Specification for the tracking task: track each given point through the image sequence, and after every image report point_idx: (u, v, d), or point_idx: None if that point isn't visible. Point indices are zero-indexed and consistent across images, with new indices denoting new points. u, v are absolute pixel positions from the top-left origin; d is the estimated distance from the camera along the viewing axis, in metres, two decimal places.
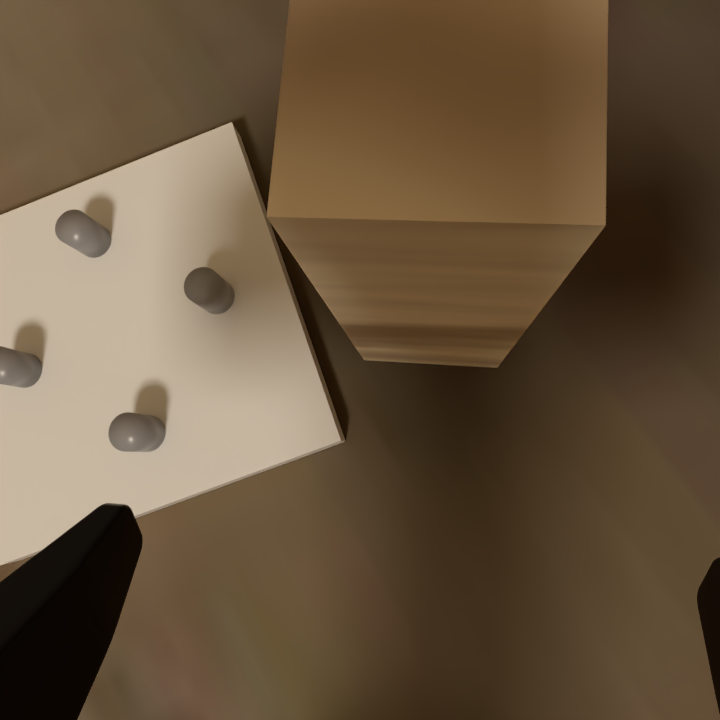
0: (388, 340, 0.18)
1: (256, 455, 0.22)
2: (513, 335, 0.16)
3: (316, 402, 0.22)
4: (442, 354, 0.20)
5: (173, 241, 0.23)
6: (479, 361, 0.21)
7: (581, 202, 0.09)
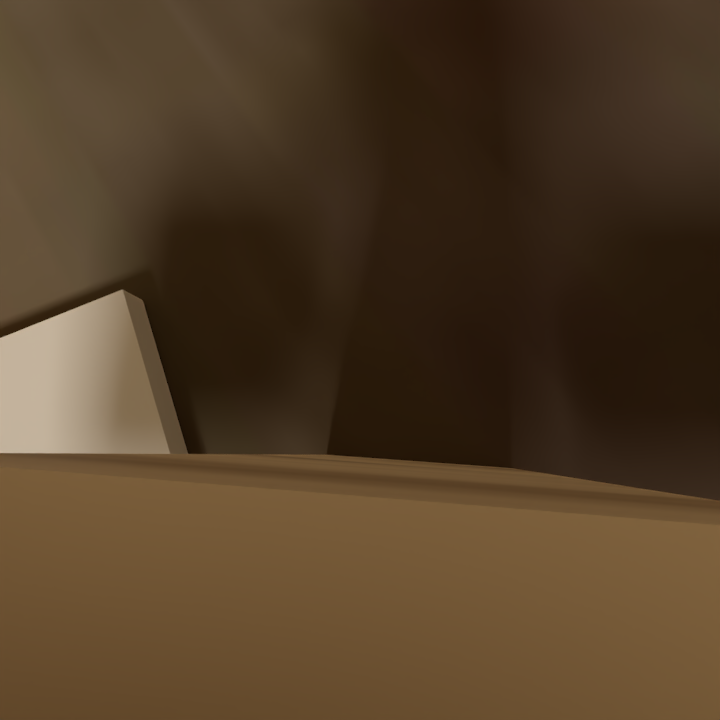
0: None
1: None
2: None
3: None
4: None
5: None
6: None
7: None
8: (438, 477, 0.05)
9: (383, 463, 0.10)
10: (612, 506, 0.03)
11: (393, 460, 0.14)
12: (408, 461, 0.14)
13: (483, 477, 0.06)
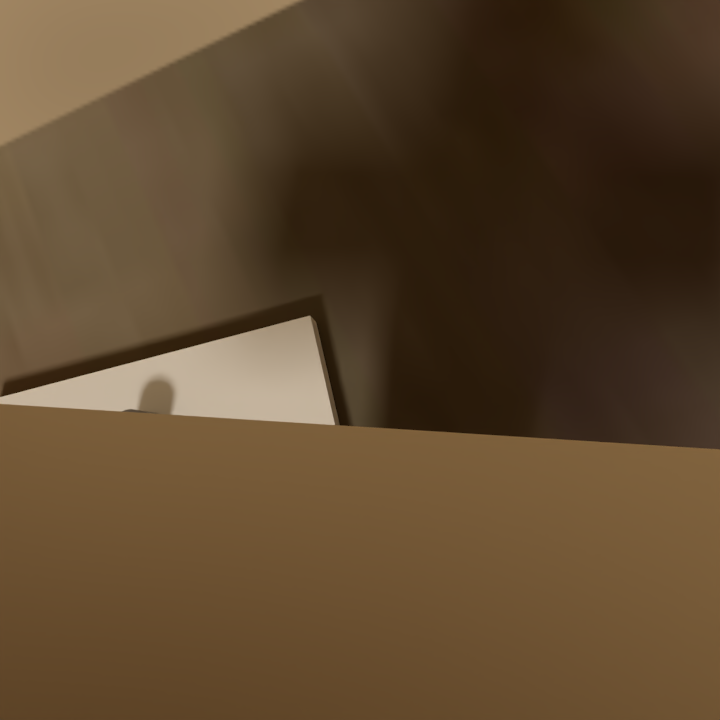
0: None
1: None
2: None
3: None
4: None
5: None
6: None
7: None
8: None
9: None
10: None
11: None
12: None
13: None
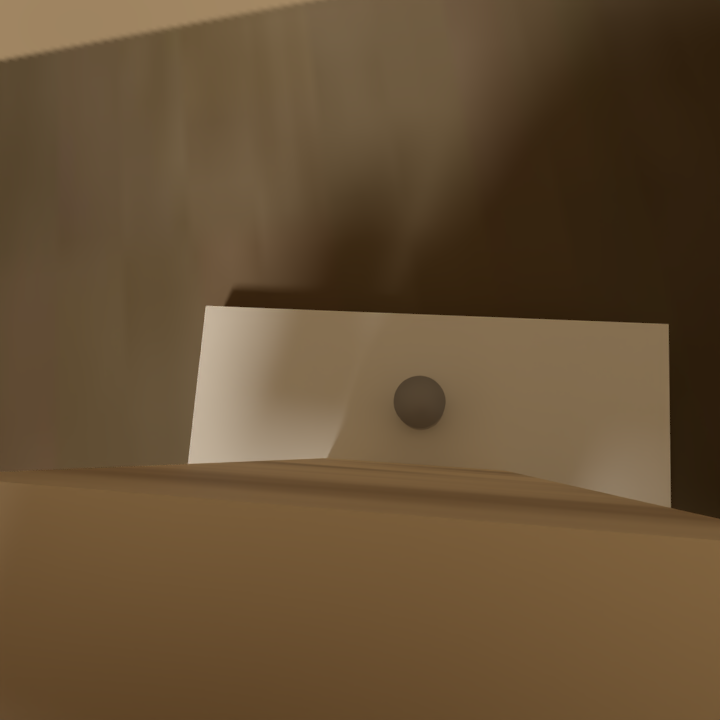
0: None
1: None
2: None
3: None
4: None
5: (529, 457, 0.17)
6: None
7: None
8: (427, 486, 0.06)
9: (380, 469, 0.10)
10: (560, 516, 0.04)
11: None
12: None
13: (469, 485, 0.07)
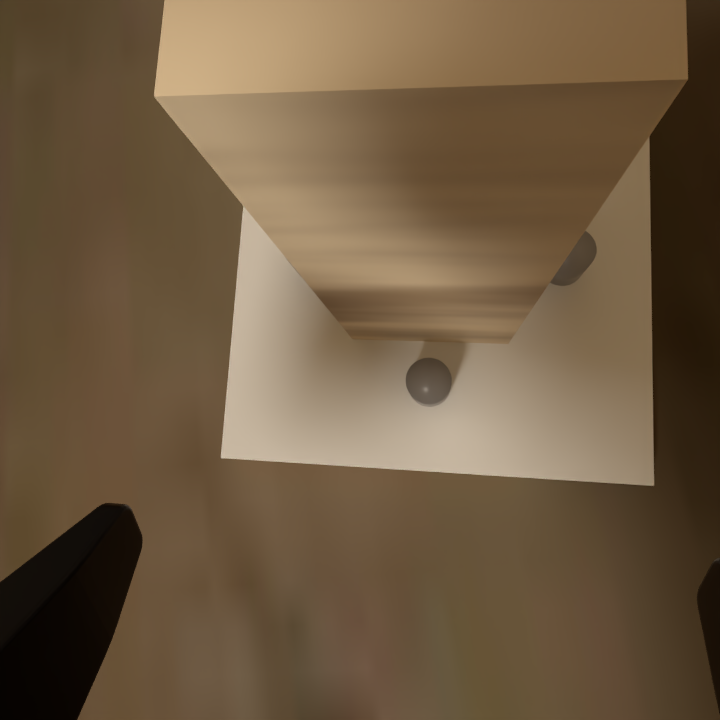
0: (376, 311, 0.15)
1: (547, 460, 0.18)
2: (528, 298, 0.13)
3: (638, 430, 0.18)
4: (442, 328, 0.17)
5: None
6: (487, 336, 0.18)
7: (646, 45, 0.05)
8: None
9: None
10: None
11: None
12: None
13: None
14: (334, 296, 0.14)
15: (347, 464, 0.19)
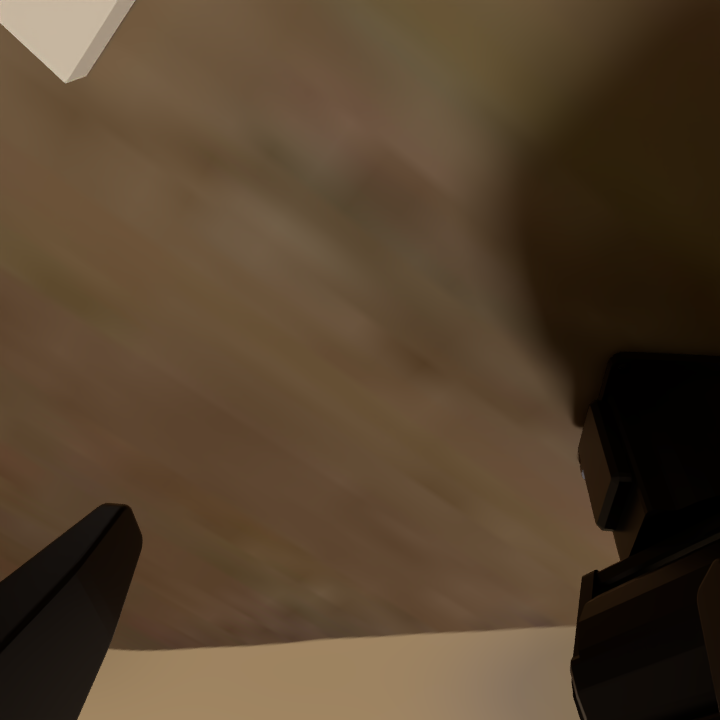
0: None
1: None
2: None
3: None
4: None
5: None
6: None
7: None
8: None
9: None
10: None
11: None
12: None
13: None
14: None
15: None
